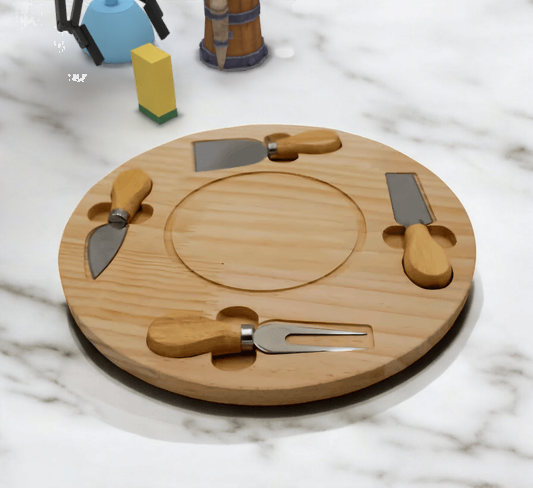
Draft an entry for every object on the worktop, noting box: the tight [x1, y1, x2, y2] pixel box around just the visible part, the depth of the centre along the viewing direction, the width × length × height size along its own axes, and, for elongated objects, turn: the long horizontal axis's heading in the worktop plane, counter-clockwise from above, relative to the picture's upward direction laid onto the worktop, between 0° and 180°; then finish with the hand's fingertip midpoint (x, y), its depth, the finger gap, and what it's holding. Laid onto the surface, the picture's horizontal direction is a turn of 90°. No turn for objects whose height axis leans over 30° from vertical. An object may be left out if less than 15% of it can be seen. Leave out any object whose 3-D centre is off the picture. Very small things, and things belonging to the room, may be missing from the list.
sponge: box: [131, 43, 179, 126], centre depth 114 cm, size 6×4×12 cm
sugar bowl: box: [80, 0, 156, 65], centre depth 131 cm, size 15×15×12 cm
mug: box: [198, 0, 269, 73], centre depth 125 cm, size 19×14×20 cm
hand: (134, 49), depth 113 cm, fingers open, 13 cm apart
